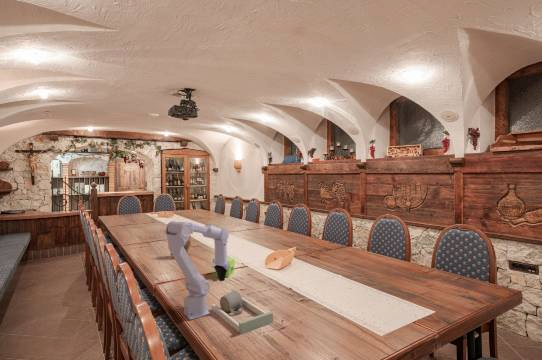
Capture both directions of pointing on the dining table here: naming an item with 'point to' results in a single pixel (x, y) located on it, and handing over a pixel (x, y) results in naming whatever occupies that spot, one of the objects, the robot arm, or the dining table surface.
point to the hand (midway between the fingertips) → (221, 280)
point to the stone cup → (186, 246)
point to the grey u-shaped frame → (250, 323)
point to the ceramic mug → (231, 302)
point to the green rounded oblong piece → (231, 270)
